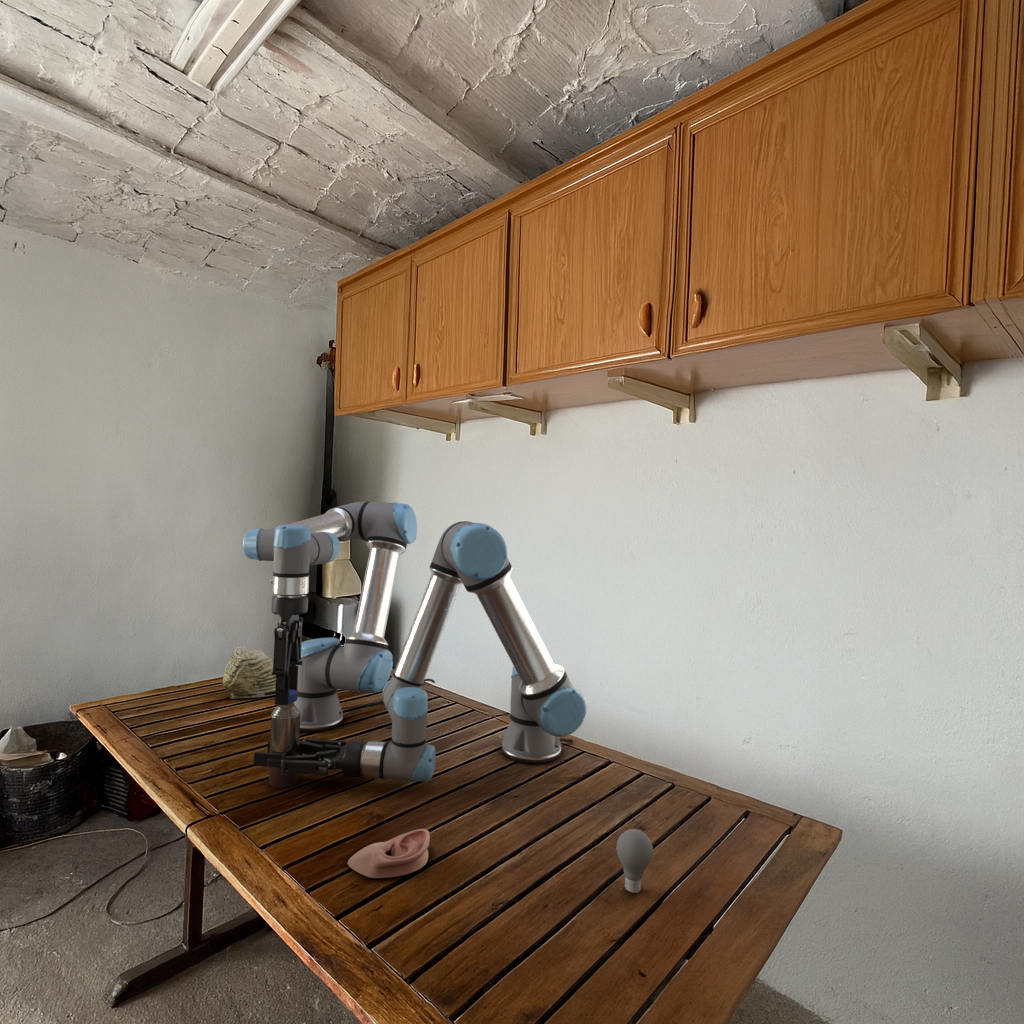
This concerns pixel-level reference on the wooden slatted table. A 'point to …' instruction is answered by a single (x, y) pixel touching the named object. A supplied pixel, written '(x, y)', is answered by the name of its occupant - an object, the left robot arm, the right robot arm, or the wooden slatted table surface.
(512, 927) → the wooden slatted table surface
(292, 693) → the cap
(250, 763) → the wooden slatted table surface
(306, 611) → the left robot arm
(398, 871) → the anatomical model
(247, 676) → the fossil
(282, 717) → the bottle
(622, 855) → the light bulb
